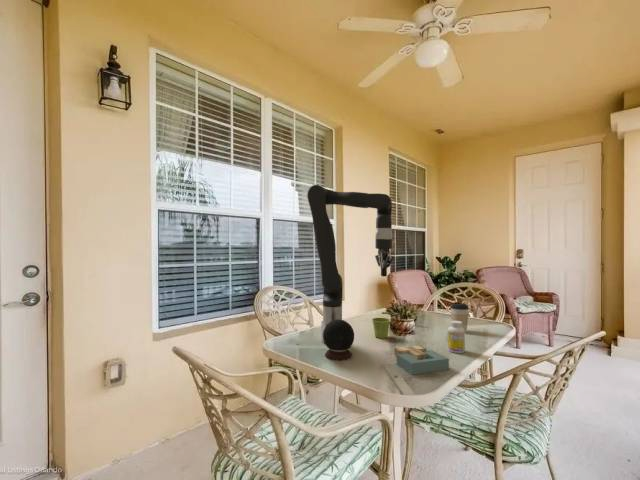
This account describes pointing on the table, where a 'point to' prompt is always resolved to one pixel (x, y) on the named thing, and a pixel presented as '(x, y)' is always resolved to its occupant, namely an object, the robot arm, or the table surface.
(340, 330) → the black ball on stand
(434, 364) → the dock
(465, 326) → the coffee cup
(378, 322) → the plant pot
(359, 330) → the table surface
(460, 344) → the supplement bottle
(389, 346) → the table surface
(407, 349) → the t block
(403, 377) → the table surface
